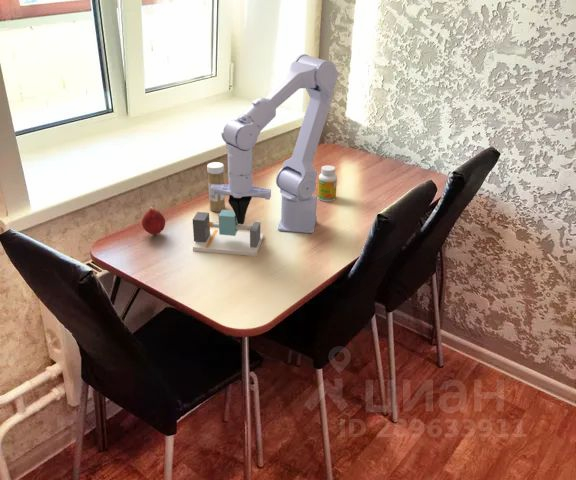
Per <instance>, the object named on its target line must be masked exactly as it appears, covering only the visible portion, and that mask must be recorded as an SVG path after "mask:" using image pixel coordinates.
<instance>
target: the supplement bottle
mask: <svg viewBox="0 0 576 480" xmlns="http://www.w3.org/2000/svg"><path fill="white" fill-rule="evenodd" d="M320 168H321V170H320V172H321V173H320V174H319V175H318V182H317V183H318V184H317V200H319V201H320V202H326V203H329V202H333V201H335V200H336V195H337V185H338V184H337V183H338V175H336V167H335V166H333V165H326V164H325V165H322V166H321V167H320Z"/></svg>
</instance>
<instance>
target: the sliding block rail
mask: <svg viewBox="0 0 576 480" xmlns="http://www.w3.org/2000/svg"><path fill="white" fill-rule="evenodd" d="M215 228H216V229H215ZM192 229H193V230H192V231H193V242H195V243H194V244H193V246H192V251H194V252H203V253H205V252H206V253H214V254H216V253H217V254H225V255H239V256H246V257H247V256H248V257H257V255H258V253H259V251H260V248H261V245H262V243H263V241H264V237H265V235H264V233H261V222H260V221H253V223H252V225H246V224H245V225H244V224H238V225H235V229H237V230H238V231H237V233H236V235H235V236H230V235H219V222H213V221H210V212H205V211H204V212H203V211H197V212H196V213H195V215H194V216H193V218H192ZM240 230H241V231H240ZM247 231H249V232H247Z"/></svg>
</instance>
